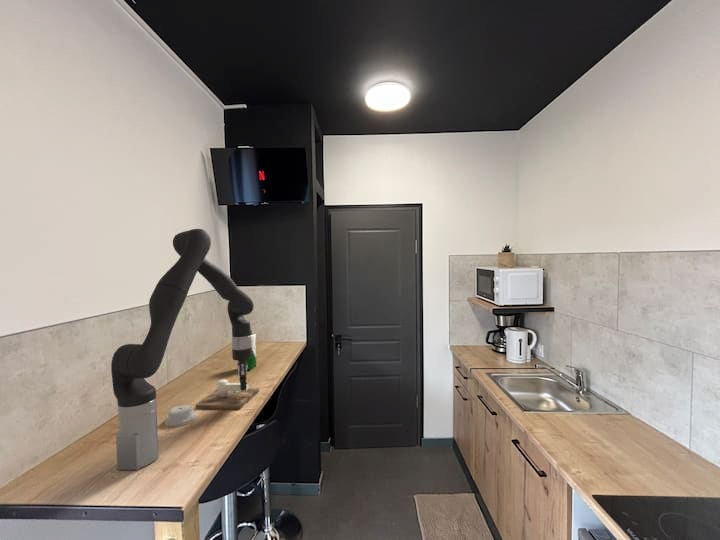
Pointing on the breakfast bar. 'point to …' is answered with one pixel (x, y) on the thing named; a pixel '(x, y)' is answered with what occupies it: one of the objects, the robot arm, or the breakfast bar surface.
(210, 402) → the board
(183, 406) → the mechanical component
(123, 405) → the robot arm
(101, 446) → the breakfast bar surface
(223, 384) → the peg
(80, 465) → the breakfast bar surface
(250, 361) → the milk carton
